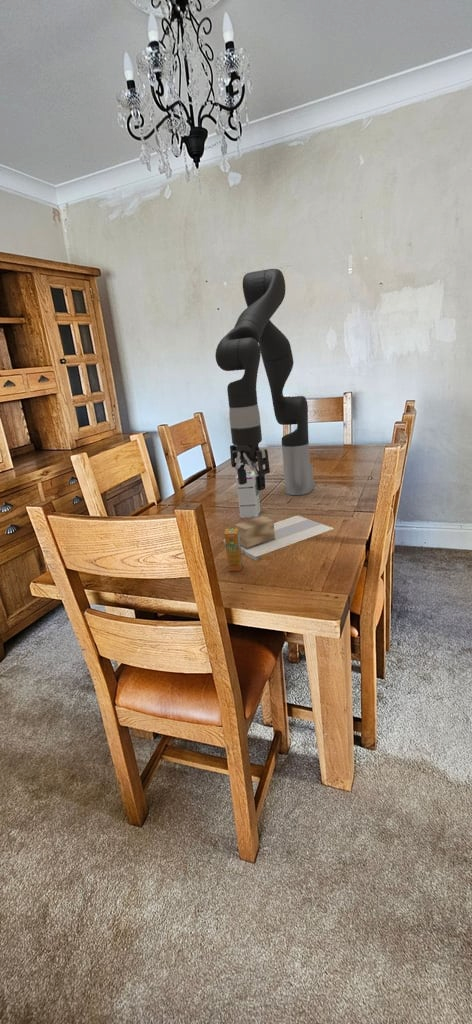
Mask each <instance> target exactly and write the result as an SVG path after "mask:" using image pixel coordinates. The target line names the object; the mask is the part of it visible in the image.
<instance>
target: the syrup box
mask: <svg viewBox="0 0 472 1024" xmlns="http://www.w3.org/2000/svg"><path fill="white" fill-rule="evenodd" d="M255 476H256V475H255V473H254V471H253V470H246V477H247V483H246V484H243V485H240V484H239V482H238V474H236V475H235V484H236V492H237V501H238V507H239V516H240V519H241V518H242V519H243V518H245V519H246V518H258V517H260V515H261V512H262V506H261V499H260V498H261V497H260V491H259V490H257V487H256V477H255Z"/></svg>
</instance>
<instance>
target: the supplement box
mask: <svg viewBox="0 0 472 1024" xmlns="http://www.w3.org/2000/svg"><path fill="white" fill-rule="evenodd" d="M224 539H225V544H226V545H225V544H224V545H225V552H226V559H227V560H226V561H227V569H228V572H241V571H242V568H243V565H244V563H243V558H242V557H243V554H242V553H241V545H240V536H239V529H238V528H236V529H235V528H225V530H224Z"/></svg>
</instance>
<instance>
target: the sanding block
mask: <svg viewBox="0 0 472 1024" xmlns="http://www.w3.org/2000/svg"><path fill="white" fill-rule="evenodd" d="M274 523H275V521H274V519H271V518H269V517H267V516H263V515H261V516H259V517H254V518H252V519H248V520H245V521H242V522H239V523H235V524H234V529H236V528H238V529H239V536H240V545H241V546H242V547H243V548H245V549H250V548H253V547H255V546H258V545H261V544H264V543H267V542H270V541H273V540H275V531H274Z"/></svg>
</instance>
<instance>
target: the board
mask: <svg viewBox="0 0 472 1024" xmlns="http://www.w3.org/2000/svg"><path fill="white" fill-rule="evenodd" d="M332 530H334V527H331V526H329V525H326V524H324V523H320V522H316V521H314V520H311V519H309V518H306V517H303V516H301V515H299V514H298V515H295V516H291V517H288V518H285V519H281V520H279V521H277V522H274V531H275V540H273V541H270V542H267V543H264V544H261V545H258V546H255V547H253V548H250V549H245V548H243V547H242V546H241V555H244V556H246V557H248V558H249V559H251V560H253V561H255V562H258V561H260V560H262V557H260V556H262V555H265V554H268V553H272V552H273V551H277V550H279V549H281V548H285V547H287V546H290V545H292V544H295V543H298V542H302V541H304V540H307V539H309V538H312V537H315V536H318V535H320V534H321V535H322V534H324V533H327V532H329V531H332ZM222 541H223V545H224V546H226V544H225V538H224V539H222Z"/></svg>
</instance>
